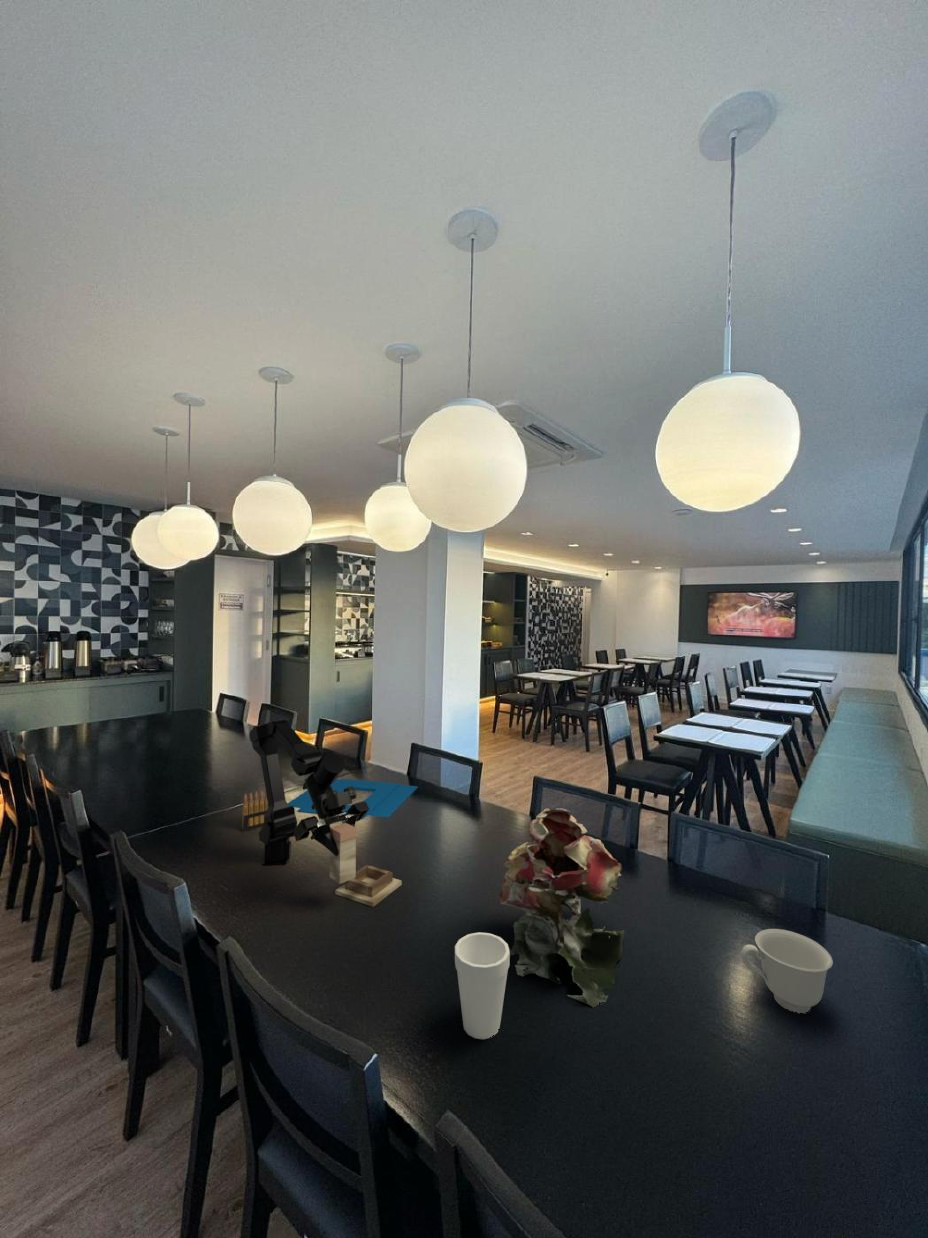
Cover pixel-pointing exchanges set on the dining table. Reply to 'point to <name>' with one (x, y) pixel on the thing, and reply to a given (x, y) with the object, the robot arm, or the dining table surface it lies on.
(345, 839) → the birch post
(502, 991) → the foam cup
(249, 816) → the ammunition clip
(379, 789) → the frame
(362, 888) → the socket stand
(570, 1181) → the dining table surface
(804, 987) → the teacup
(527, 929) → the rose bouquet
